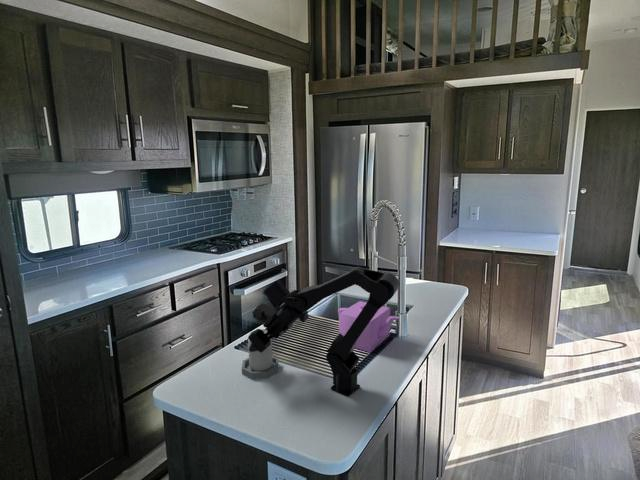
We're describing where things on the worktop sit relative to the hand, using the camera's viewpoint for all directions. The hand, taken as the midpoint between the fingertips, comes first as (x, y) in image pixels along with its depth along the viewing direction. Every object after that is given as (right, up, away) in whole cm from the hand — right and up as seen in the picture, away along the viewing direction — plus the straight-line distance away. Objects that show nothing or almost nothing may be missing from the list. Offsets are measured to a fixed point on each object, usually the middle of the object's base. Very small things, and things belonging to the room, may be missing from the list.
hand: (256, 345), depth 136 cm
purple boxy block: (+38, -4, +20) cm, 43 cm away
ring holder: (+1, -8, +1) cm, 8 cm away
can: (+1, -8, +1) cm, 8 cm away
